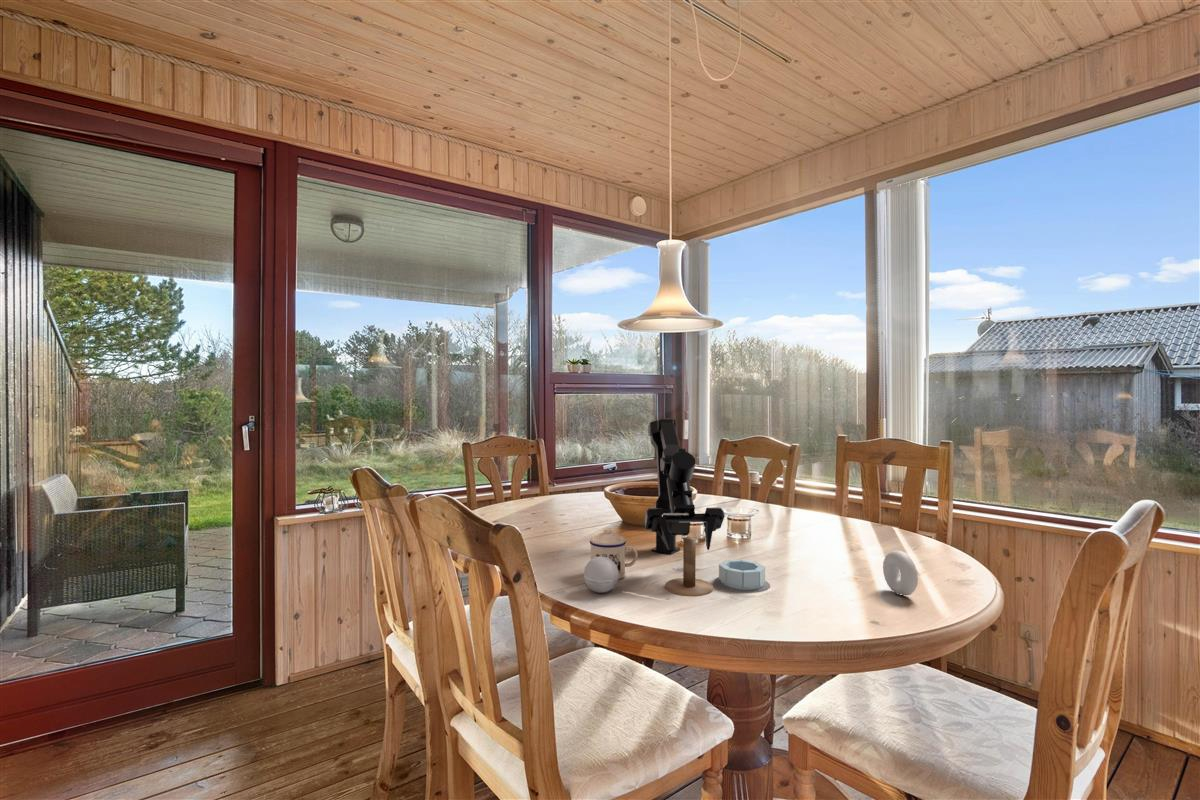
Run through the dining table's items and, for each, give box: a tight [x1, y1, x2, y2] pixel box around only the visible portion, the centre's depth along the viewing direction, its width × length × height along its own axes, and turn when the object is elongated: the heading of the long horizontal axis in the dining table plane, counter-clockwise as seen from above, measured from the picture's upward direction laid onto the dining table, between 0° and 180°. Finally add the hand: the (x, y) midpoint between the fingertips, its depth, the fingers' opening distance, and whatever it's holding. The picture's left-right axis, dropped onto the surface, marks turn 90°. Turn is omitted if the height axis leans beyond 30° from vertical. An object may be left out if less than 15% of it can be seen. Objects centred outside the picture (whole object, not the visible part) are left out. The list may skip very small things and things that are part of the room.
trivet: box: [713, 576, 771, 594], centre depth 135 cm, size 13×13×1 cm
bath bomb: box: [583, 556, 619, 594], centre depth 130 cm, size 8×8×8 cm
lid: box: [665, 536, 714, 597], centre depth 131 cm, size 11×11×12 cm
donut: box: [882, 549, 919, 596], centre depth 128 cm, size 10×3×10 cm, turn 6°
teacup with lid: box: [589, 527, 639, 580], centre depth 141 cm, size 12×9×12 cm
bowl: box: [718, 559, 766, 590], centre depth 135 cm, size 10×10×4 cm
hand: (689, 549), depth 132 cm, fingers open, 9 cm apart
